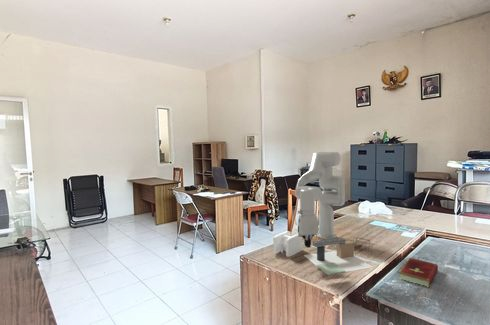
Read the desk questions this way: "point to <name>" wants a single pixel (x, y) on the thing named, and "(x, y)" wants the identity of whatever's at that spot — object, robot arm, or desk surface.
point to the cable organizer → (287, 243)
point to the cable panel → (339, 260)
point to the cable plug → (321, 253)
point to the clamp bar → (328, 242)
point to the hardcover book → (419, 271)
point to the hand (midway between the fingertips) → (307, 246)
